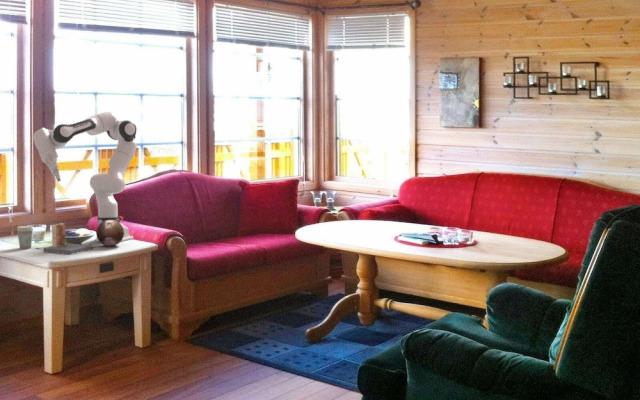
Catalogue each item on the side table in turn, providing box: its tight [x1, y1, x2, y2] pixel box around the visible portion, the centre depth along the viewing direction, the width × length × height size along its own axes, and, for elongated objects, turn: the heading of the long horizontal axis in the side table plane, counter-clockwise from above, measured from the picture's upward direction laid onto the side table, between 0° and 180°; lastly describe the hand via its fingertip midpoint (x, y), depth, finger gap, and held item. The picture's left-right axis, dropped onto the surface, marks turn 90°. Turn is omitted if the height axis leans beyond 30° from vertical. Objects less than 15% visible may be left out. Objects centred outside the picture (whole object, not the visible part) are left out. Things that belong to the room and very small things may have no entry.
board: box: [42, 242, 93, 255], centre depth 445 cm, size 18×18×2 cm
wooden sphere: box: [95, 220, 124, 247], centre depth 459 cm, size 15×15×15 cm
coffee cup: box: [16, 225, 34, 250], centre depth 449 cm, size 8×8×12 cm
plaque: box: [51, 222, 67, 247], centre depth 446 cm, size 8×3×12 cm, turn 158°
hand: (59, 179), depth 448 cm, fingers open, 8 cm apart
